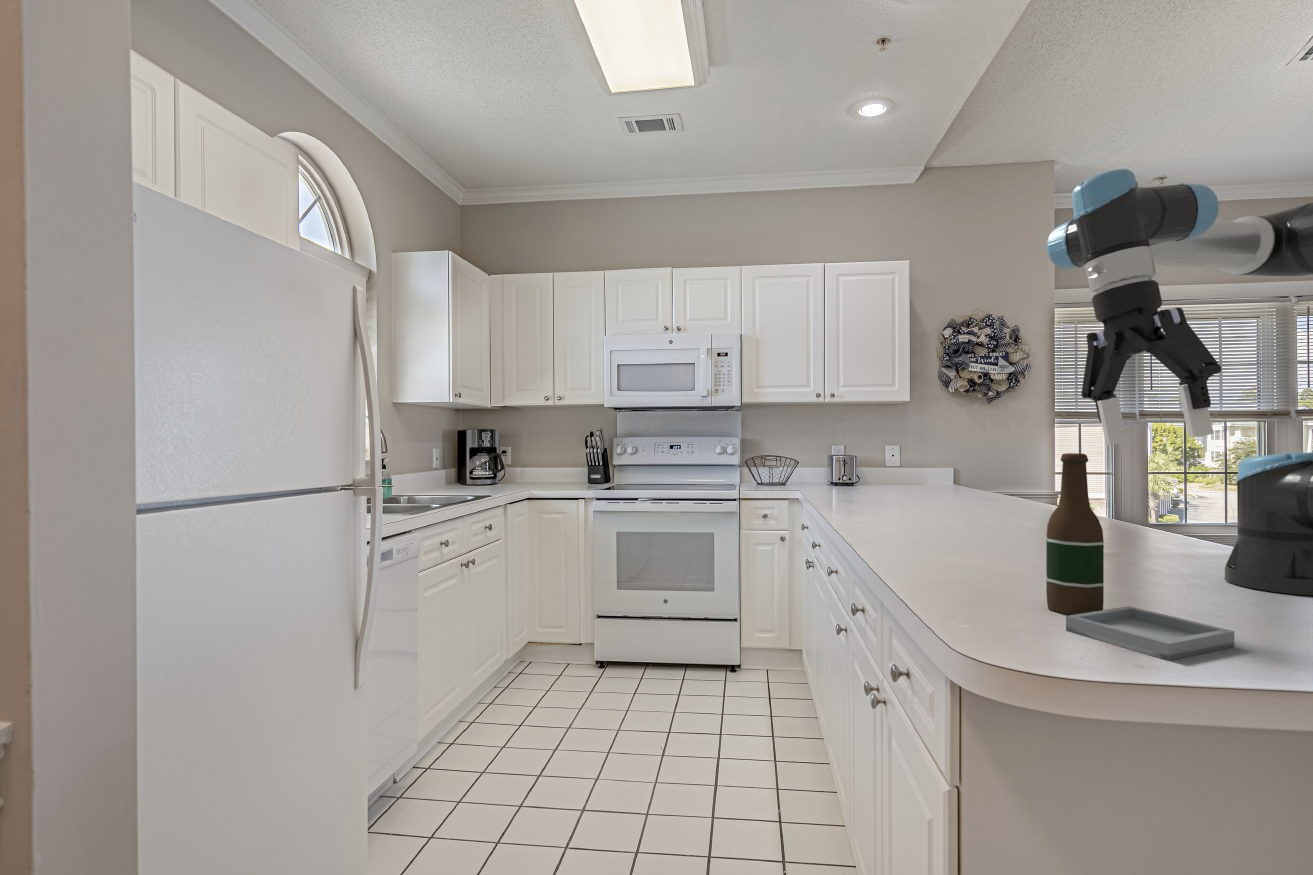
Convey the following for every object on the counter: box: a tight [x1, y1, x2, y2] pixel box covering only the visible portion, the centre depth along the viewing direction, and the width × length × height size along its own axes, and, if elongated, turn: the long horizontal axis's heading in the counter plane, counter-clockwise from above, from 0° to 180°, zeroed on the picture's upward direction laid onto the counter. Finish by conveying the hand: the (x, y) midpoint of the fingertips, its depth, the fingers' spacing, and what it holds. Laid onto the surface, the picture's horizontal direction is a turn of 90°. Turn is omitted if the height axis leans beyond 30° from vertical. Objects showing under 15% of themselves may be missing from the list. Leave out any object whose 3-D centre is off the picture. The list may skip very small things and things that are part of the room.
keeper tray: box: [1065, 606, 1235, 661], centre depth 88 cm, size 13×13×2 cm
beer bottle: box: [1045, 452, 1105, 616], centre depth 101 cm, size 8×8×24 cm
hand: (1155, 440), depth 90 cm, fingers open, 13 cm apart
